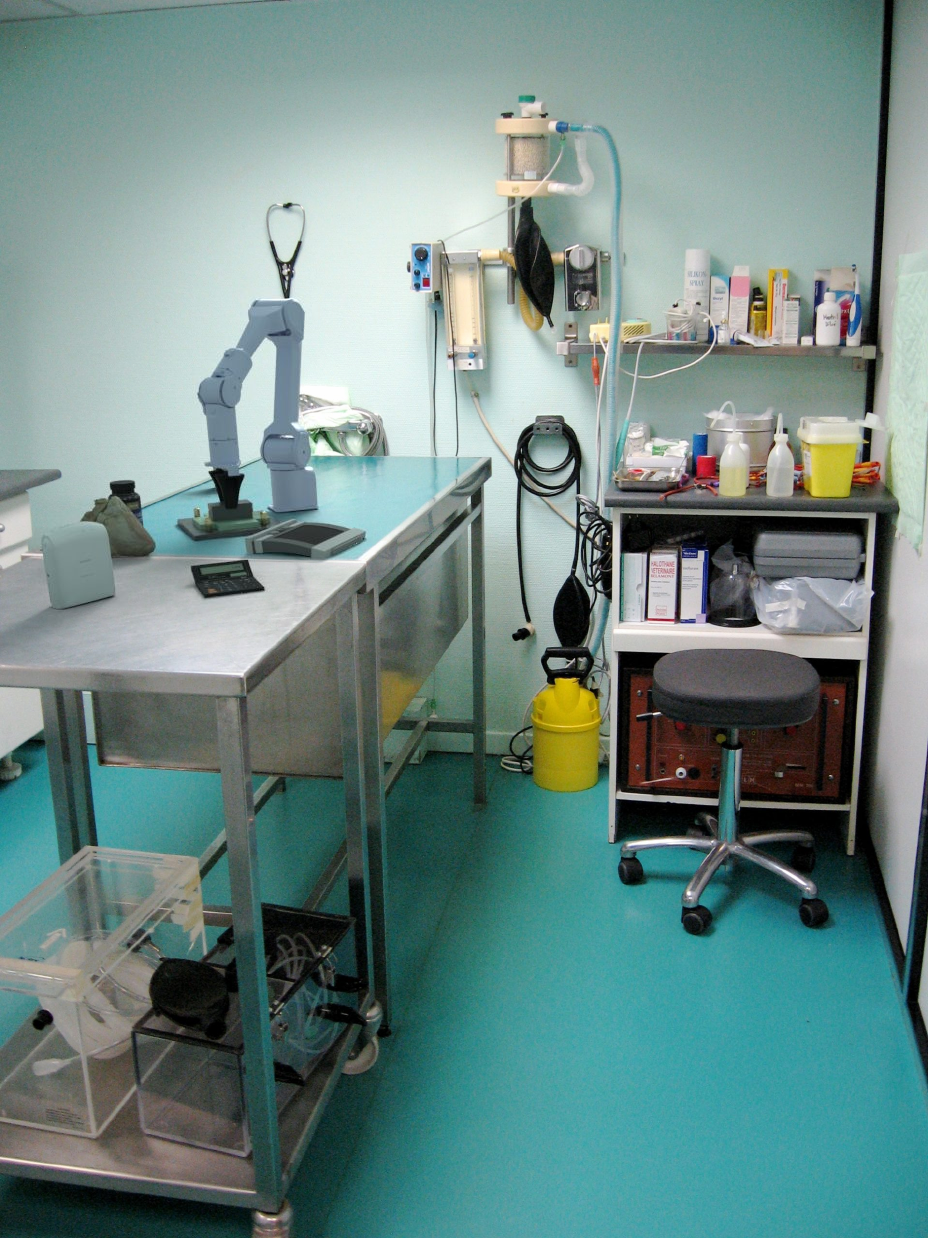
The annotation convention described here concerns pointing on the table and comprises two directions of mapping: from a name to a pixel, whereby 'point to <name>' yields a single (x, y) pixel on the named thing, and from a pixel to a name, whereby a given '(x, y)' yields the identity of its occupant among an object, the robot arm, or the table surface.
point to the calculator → (225, 578)
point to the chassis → (214, 533)
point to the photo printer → (78, 564)
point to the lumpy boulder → (121, 528)
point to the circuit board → (230, 522)
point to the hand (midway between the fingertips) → (229, 506)
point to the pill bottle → (127, 496)
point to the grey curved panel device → (304, 539)
